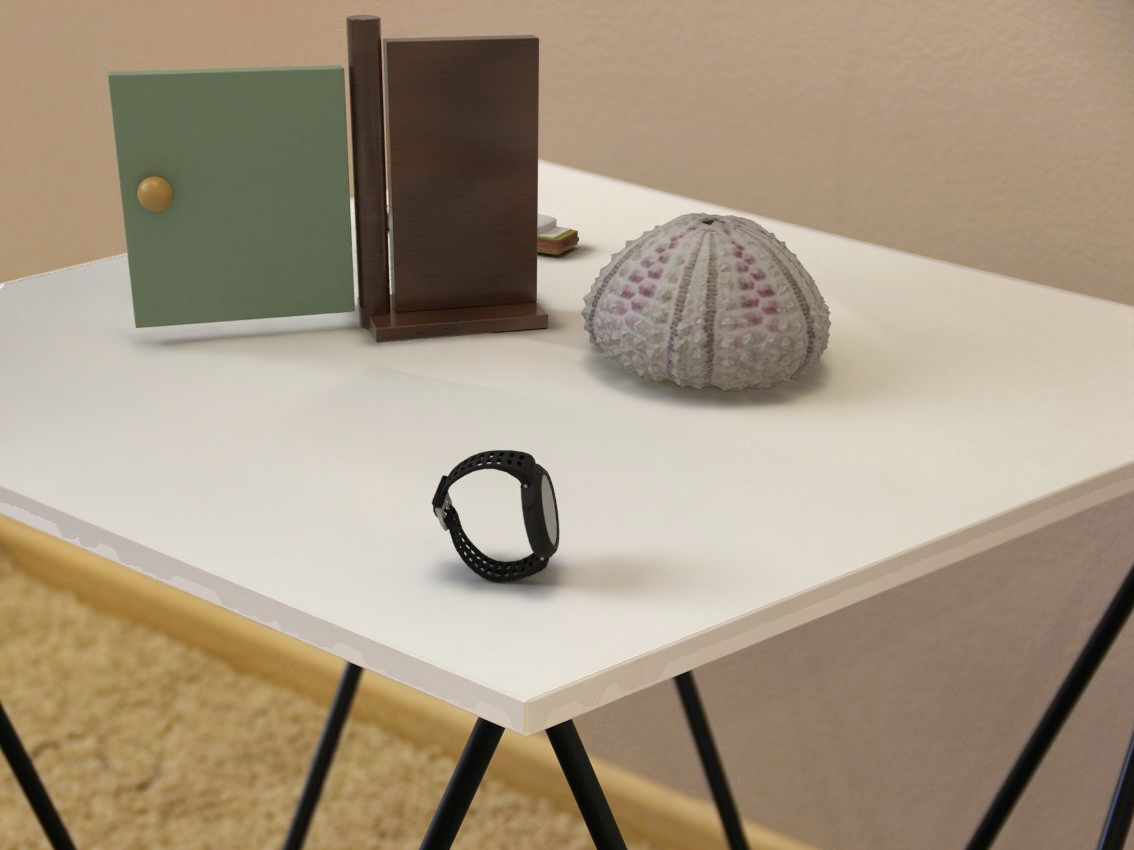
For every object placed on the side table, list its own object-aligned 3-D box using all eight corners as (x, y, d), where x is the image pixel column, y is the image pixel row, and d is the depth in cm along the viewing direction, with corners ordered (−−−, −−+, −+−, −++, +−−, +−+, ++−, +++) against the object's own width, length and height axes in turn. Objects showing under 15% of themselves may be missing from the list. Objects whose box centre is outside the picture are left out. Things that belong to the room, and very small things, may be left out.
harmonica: (579, 247, 103) (579, 218, 102) (558, 258, 100) (558, 228, 100) (396, 218, 109) (395, 191, 108) (372, 228, 106) (370, 200, 105)
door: (137, 338, 81) (109, 80, 76) (134, 322, 84) (107, 71, 78) (360, 321, 85) (349, 73, 79) (352, 306, 87) (341, 64, 81)
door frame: (369, 342, 85) (356, 25, 77) (350, 309, 90) (336, 9, 83) (548, 327, 88) (552, 21, 80) (520, 297, 93) (521, 6, 86)
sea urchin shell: (657, 309, 91) (663, 176, 88) (869, 354, 85) (884, 212, 81) (534, 373, 81) (536, 225, 77) (765, 429, 75) (777, 271, 71)
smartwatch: (534, 607, 58) (535, 488, 56) (419, 575, 60) (416, 459, 58) (583, 563, 61) (585, 449, 59) (473, 535, 63) (471, 423, 61)
